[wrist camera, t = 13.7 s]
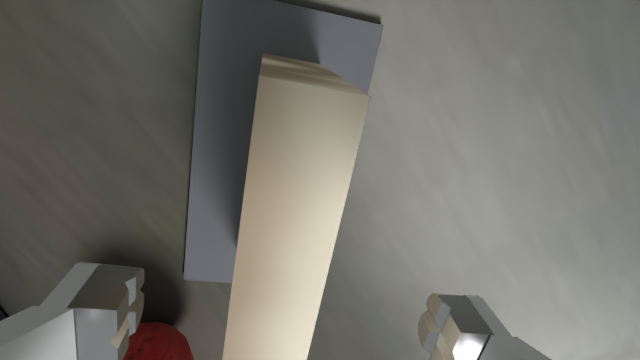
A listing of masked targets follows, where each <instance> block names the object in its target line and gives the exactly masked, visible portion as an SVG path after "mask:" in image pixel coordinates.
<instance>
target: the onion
mask: <svg viewBox="0 0 640 360" xmlns="http://www.w3.org/2000/svg"><path fill="white" fill-rule="evenodd" d="M123 360H194V358H193V355H192V353H191V350H190V347H189V344H188V342H187V339H186V337H185V336H184V335H183V334H182V333H180V332H179V331H178V330H177V329H176V328H174V327H173V326H171V325H167V324H164V323H161V322H145V323H139V325H138V327H137V330H136V332H135V333H134V334H132V335H131V336H129V347H128V349H127V352H126V354H125V356H124V358H123Z"/></svg>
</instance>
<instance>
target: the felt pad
mask: <svg viewBox="0 0 640 360" xmlns="http://www.w3.org/2000/svg"><path fill="white" fill-rule="evenodd" d="M383 26H384V25H380V24H375V23H371V22H367V21H362V20H358V19H354V18H349V17H345V16H340V15H336V14H332V13H327V12H323V11H318V10H314V9H310V8H305V7H301V6H297V5H292V4H288V3H283V2H279V1H275V0H202V14H201V29H200V44H199V59H198V73H197V88H196V103H195V118H194V132H193V147H192V162H191V177H190V191H189V206H188V221H187V236H186V250H185V265H184V280H194V281H209V282H223V283H232V282H233V274H234V266H235V259H236V251H237V243H238V235H239V228H240V220H241V212H242V204H243V197H244V189H245V181H246V173H247V165H248V158H249V150H250V142H251V134H252V127H253V119H254V111H255V103H256V96H257V88H258V80H259V73H260V68H261V62H262V56H263V53H266V54H271V55H277V56H282V57H287V58H292V59H297V60H302V61H307V62H312V63H317V64H321V65H322V66H324V67H326V68H327V69H329V70H330V71H332V72H333V73H335V74H337V75H338V76H340V77H341V78H343V79H344V80H346V81H348V82H349V83H351V84H352V85H354V86H355V87H357V88H359V89H360V90H362V91H363V92H365V93H367V92H368V88H369V84H370V80H371V76H372V72H373V67H374V63H375V59H376V55H377V51H378V47H379V42H380V38H381V34H382V30H383Z"/></svg>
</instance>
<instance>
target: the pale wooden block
mask: <svg viewBox="0 0 640 360" xmlns="http://www.w3.org/2000/svg"><path fill="white" fill-rule="evenodd" d="M370 98H371V96H370V95H368V94H367V93H365V92H363V91H362V90H360V89H359V88H357V87H355V86H354V85H352V84H351V83H349V82H348V81H346V80H344V79H343V78H341V77H340V76H338V75H337V74H335V73H333V72H332V71H330V70H329V69H327V68H326V67H324V66H322V65H321V64H317V63H312V62H307V61H302V60H297V59H292V58H287V57H282V56H277V55H271V54H266V53H263V56H262V62H261V68H260V73H259V80H258V88H257V96H256V103H255V111H254V119H253V127H252V134H251V142H250V150H249V158H248V165H247V173H246V181H245V189H244V197H243V204H242V212H241V220H240V228H239V235H238V243H237V251H236V259H235V266H234V274H233V282H232V290H231V297H230V305H229V313H228V321H227V329H226V336H225V344H224V352H223V360H307V356H308V352H309V348H310V344H311V340H312V335H313V331H314V327H315V323H316V319H317V315H318V311H319V307H320V303H321V299H322V295H323V290H324V286H325V282H326V278H327V274H328V270H329V266H330V262H331V258H332V254H333V250H334V245H335V241H336V237H337V233H338V229H339V225H340V221H341V217H342V213H343V209H344V205H345V200H346V196H347V192H348V188H349V184H350V180H351V176H352V172H353V168H354V164H355V160H356V155H357V151H358V147H359V143H360V139H361V135H362V131H363V127H364V123H365V119H366V114H367V110H368V106H369V102H370Z"/></svg>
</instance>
